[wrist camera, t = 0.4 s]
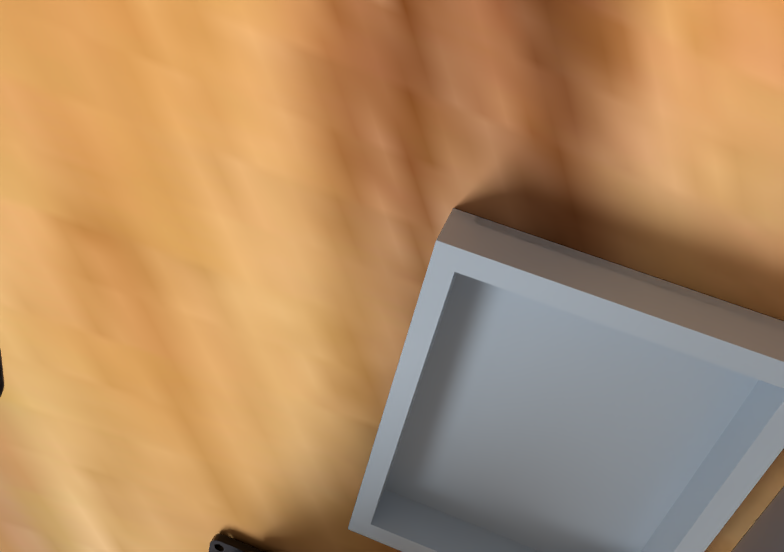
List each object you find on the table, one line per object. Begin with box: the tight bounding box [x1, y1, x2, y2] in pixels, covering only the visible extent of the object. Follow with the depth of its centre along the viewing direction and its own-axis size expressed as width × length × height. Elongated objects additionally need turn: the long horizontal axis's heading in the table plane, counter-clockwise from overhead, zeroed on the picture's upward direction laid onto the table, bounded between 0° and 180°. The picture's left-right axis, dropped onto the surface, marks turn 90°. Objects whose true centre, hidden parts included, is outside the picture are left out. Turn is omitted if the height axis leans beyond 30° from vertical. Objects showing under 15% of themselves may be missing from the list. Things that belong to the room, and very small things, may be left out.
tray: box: [348, 208, 784, 552], centre depth 24 cm, size 14×12×2 cm
